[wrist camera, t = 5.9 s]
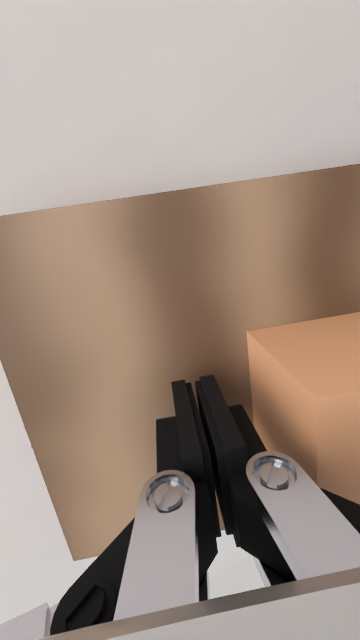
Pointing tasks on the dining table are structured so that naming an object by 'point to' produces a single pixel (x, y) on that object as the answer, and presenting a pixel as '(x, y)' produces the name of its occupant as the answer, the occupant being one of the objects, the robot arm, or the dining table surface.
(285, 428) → the terracotta block
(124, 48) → the dining table surface
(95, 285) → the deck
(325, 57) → the dining table surface
